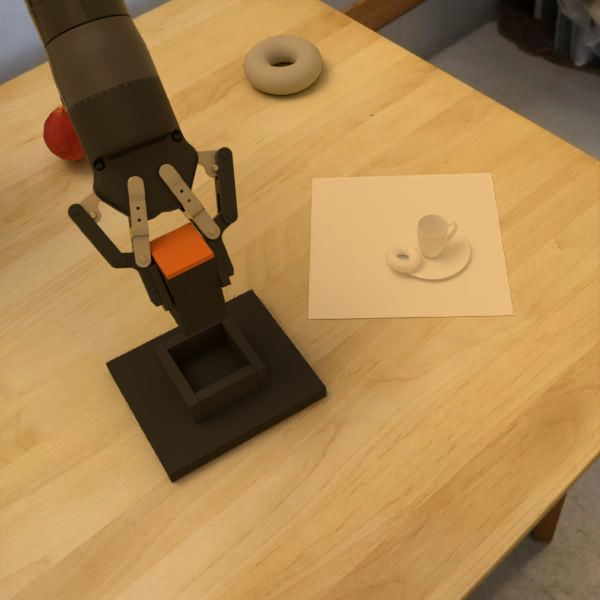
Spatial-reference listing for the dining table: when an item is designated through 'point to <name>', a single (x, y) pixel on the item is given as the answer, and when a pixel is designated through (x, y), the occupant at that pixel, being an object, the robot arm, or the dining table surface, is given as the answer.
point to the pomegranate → (62, 135)
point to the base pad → (215, 385)
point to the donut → (283, 77)
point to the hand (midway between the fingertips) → (197, 296)
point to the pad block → (189, 278)
